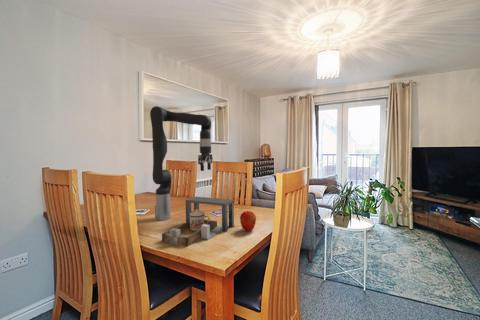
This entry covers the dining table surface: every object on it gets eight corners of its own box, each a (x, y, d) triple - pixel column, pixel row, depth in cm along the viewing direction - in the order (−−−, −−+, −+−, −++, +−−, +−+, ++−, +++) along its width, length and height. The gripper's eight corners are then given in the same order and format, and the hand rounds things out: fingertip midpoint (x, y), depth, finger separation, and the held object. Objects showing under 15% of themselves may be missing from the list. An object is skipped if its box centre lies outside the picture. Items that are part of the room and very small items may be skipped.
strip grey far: (210, 232, 132) (210, 230, 132) (219, 226, 142) (219, 224, 142) (217, 233, 131) (217, 231, 130) (226, 227, 141) (226, 225, 141)
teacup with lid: (189, 231, 133) (188, 211, 133) (189, 226, 142) (189, 207, 142) (210, 230, 135) (209, 210, 135) (209, 225, 144) (209, 206, 144)
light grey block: (200, 238, 123) (200, 225, 122) (208, 233, 130) (208, 221, 130) (207, 240, 121) (207, 226, 121) (215, 234, 128) (215, 222, 128)
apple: (245, 234, 128) (245, 213, 128) (237, 229, 136) (236, 209, 135) (259, 231, 133) (259, 210, 133) (250, 226, 141) (249, 207, 140)
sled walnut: (161, 242, 119) (160, 228, 118) (194, 224, 146) (194, 213, 146) (186, 247, 112) (186, 232, 112) (217, 227, 140) (216, 216, 140)
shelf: (186, 226, 143) (185, 199, 142) (196, 220, 153) (195, 196, 153) (225, 232, 132) (225, 203, 132) (233, 226, 142) (233, 199, 142)
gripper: (206, 146, 163) (206, 169, 164) (194, 145, 150) (194, 171, 151) (215, 145, 160) (215, 169, 161) (204, 145, 147) (204, 171, 148)
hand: (205, 170), depth 156 cm, fingers open, 8 cm apart
